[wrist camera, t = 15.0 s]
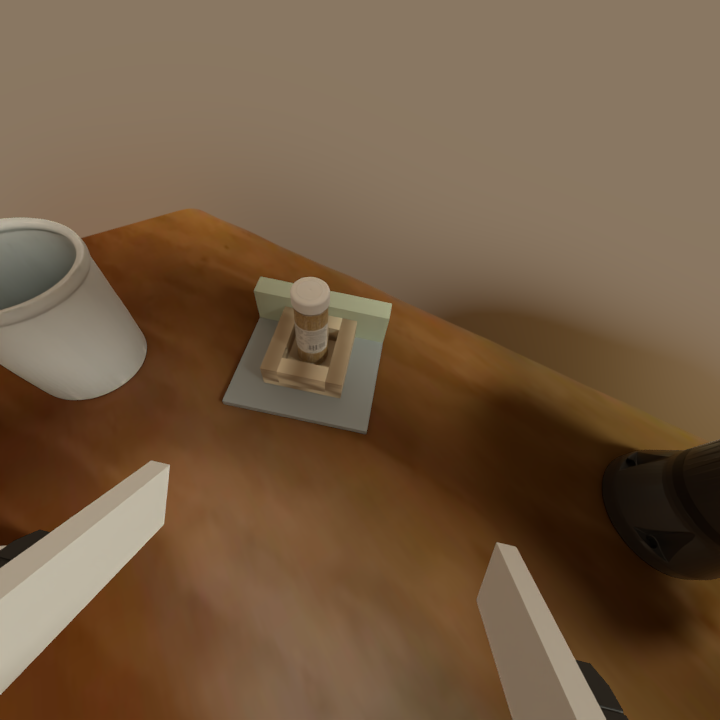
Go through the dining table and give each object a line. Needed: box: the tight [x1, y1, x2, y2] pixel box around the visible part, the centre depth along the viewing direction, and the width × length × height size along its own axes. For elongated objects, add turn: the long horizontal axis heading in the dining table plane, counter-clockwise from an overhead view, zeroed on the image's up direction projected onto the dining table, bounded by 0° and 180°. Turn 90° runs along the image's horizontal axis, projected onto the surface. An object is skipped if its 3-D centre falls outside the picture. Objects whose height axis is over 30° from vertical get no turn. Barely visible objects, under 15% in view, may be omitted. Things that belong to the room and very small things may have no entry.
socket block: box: [260, 306, 357, 398], centre depth 48 cm, size 11×11×4 cm
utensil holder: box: [0, 218, 147, 400], centre depth 40 cm, size 15×15×18 cm
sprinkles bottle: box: [290, 277, 330, 365], centre depth 43 cm, size 5×5×14 cm
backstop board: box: [222, 277, 392, 434], centre depth 47 cm, size 20×18×7 cm
